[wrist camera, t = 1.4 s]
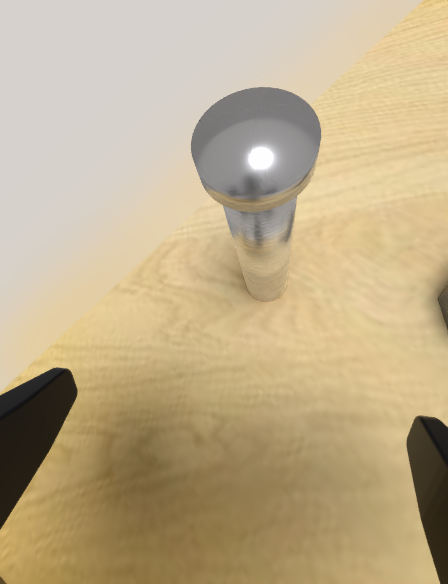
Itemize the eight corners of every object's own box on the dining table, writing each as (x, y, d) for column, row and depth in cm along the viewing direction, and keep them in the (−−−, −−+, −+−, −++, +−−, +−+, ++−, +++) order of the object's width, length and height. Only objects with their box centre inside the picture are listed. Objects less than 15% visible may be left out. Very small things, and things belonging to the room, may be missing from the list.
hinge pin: (272, 319, 22) (267, 217, 9) (228, 287, 23) (166, 155, 10) (305, 276, 22) (348, 117, 9) (260, 247, 24) (242, 71, 10)
